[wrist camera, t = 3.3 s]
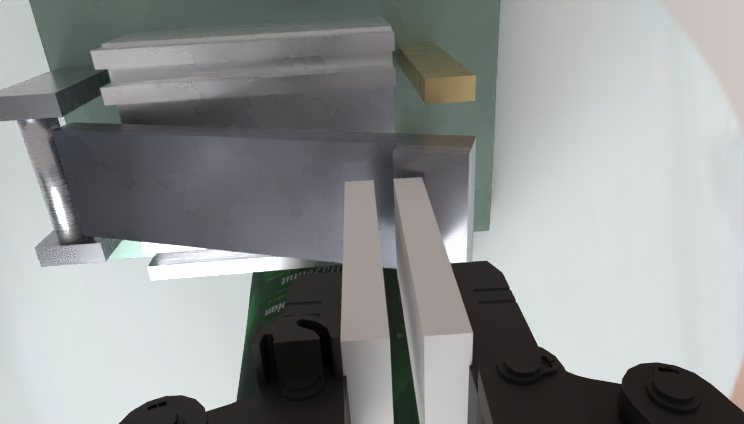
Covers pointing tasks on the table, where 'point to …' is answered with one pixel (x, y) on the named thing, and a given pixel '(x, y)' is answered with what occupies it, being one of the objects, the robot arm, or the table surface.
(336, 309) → the robot arm
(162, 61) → the heatsink base
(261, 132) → the grey rectangular bar
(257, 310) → the coffee jar
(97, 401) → the table surface
